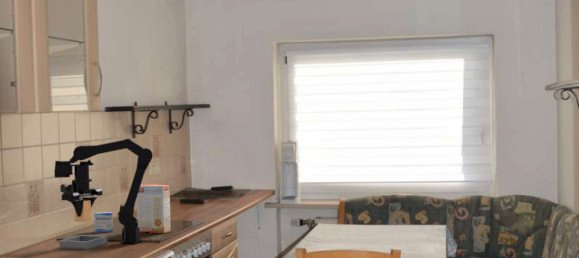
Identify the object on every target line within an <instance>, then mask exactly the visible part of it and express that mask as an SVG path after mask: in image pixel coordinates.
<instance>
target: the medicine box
mask: <svg viewBox="0 0 579 258" xmlns="http://www.w3.org/2000/svg"><path fill="white" fill-rule="evenodd" d="M93 214H94V215H93V220H94V221H93V222H94V233H95V234H100V233H99V232H103V233H113V232H114V221H113V218H114V217H113V212H112V211H108V212H107V211H104V212H103V211H102V212H100V211H99V212H94V213H93Z"/></svg>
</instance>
